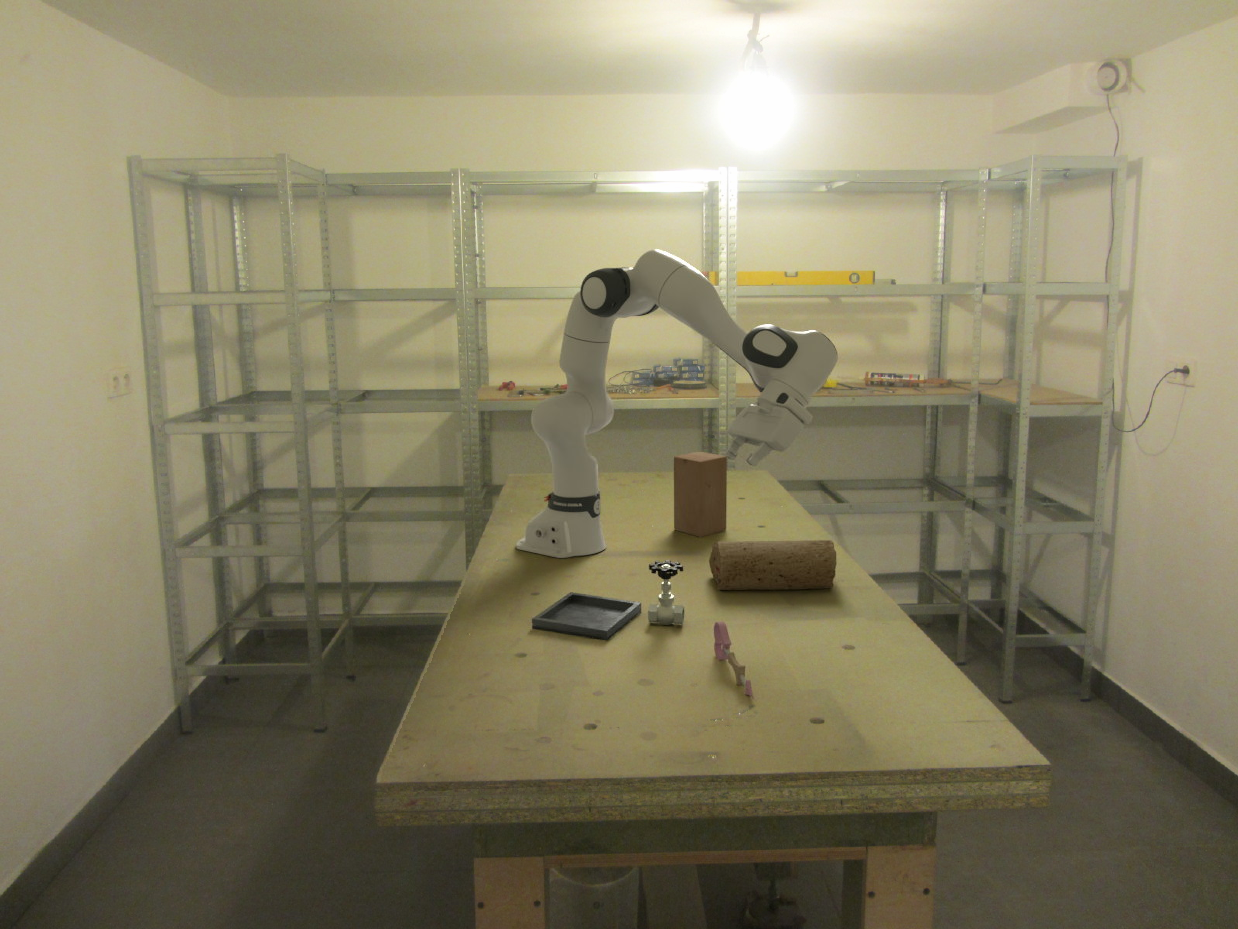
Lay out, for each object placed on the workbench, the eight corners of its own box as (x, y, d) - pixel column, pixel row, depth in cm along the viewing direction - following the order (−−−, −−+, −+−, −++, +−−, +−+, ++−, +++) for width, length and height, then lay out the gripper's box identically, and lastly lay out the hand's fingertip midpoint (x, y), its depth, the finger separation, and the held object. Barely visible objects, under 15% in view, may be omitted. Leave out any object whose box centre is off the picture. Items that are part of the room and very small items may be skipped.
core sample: (708, 575, 204) (709, 532, 202) (826, 573, 204) (828, 531, 202) (714, 597, 190) (715, 551, 188) (841, 595, 190) (842, 549, 188)
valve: (680, 631, 172) (680, 571, 169) (646, 629, 173) (645, 569, 171) (685, 619, 178) (685, 560, 176) (652, 617, 179) (651, 559, 177)
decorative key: (748, 718, 144) (712, 650, 162) (755, 717, 144) (718, 649, 163) (751, 682, 142) (714, 617, 160) (758, 681, 142) (721, 616, 160)
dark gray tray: (532, 628, 174) (531, 618, 174) (570, 601, 189) (570, 592, 188) (607, 641, 168) (606, 631, 167) (641, 611, 182) (641, 602, 182)
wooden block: (700, 538, 232) (700, 461, 228) (673, 530, 239) (672, 456, 235) (727, 530, 239) (727, 455, 234) (699, 523, 246) (699, 450, 242)
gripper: (745, 391, 187) (705, 444, 186) (795, 398, 168) (751, 457, 166) (766, 410, 189) (727, 463, 188) (818, 419, 170) (775, 477, 169)
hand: (739, 460), depth 177 cm, fingers open, 8 cm apart
